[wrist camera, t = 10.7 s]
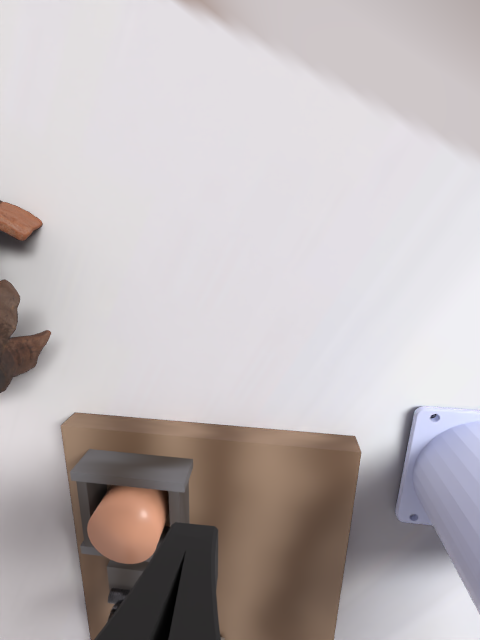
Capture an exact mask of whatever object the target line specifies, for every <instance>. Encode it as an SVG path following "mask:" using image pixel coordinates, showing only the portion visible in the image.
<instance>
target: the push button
mask: <svg viewBox="0 0 480 640" xmlns="http://www.w3.org/2000/svg"><path fill="white" fill-rule="evenodd" d="M168 515H169V493H168V492H167V491H165V490H155V489H146V488H136V487H127V486H117V485H111V487H110V488H109V490H108V491H107V493H106V494H105V496H104V497H103V499H102V501H101V502H100V504H99V505H98V507H97V508H96V510H95V511H94V513H93V515H92V516H91V518H90V520H89V522H88V526H87V532H88V537H89V539H90V541H91V543H92V545H93V546H94V547H95V548H96V550H97V551H98V552H100V553H101V554H102V555H103V556H105V557H107V558H108V559H110V560H113V561H115V562H119V563H124V564H136V563H140V562H143V561H145V560H147V559H148V558H150V557H151V556H152V555H153V553H154V552H155V549H156V547H157V544H158V542H159V539H160V536H161V534H162V531H163V528H164V526H165V523H166V520H167V518H168Z"/></svg>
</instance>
